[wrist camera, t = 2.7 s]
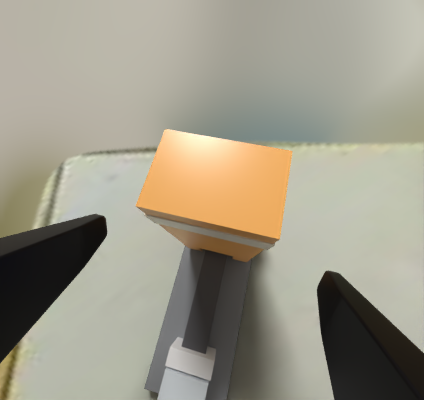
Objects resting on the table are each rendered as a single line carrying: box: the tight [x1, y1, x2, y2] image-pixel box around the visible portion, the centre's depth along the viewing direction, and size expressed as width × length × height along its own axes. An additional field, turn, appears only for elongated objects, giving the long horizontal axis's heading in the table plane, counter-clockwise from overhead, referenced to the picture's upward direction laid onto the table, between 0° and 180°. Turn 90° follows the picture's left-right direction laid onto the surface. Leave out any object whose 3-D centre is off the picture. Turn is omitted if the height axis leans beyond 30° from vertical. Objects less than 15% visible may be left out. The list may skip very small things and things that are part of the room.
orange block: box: [136, 129, 292, 262], centre depth 12 cm, size 3×5×11 cm
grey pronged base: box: [144, 246, 252, 400], centre depth 15 cm, size 14×5×4 cm, turn 166°
